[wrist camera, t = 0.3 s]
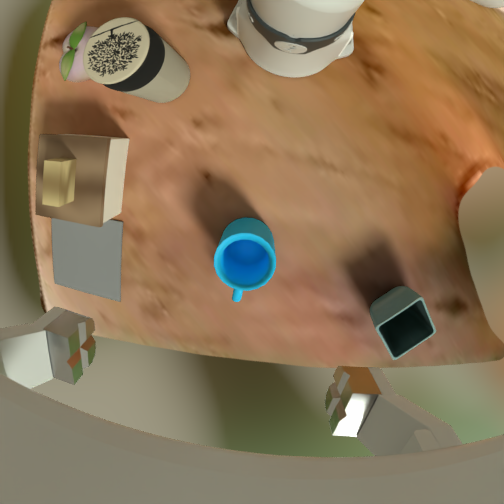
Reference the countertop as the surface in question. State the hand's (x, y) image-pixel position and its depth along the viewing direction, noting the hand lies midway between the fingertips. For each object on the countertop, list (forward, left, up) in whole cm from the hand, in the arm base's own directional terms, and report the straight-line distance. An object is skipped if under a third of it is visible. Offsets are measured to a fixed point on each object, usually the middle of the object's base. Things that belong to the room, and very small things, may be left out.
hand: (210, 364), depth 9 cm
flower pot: (+15, +28, -39) cm, 50 cm away
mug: (+11, +1, -39) cm, 40 cm away
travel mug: (-14, -16, -39) cm, 44 cm away
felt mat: (+17, -27, -39) cm, 50 cm away
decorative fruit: (-17, -28, -39) cm, 51 cm away
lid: (+2, -26, -32) cm, 41 cm away
